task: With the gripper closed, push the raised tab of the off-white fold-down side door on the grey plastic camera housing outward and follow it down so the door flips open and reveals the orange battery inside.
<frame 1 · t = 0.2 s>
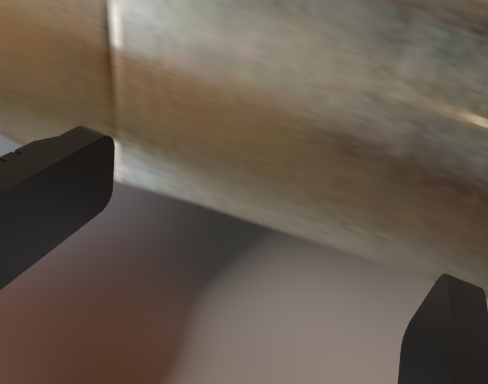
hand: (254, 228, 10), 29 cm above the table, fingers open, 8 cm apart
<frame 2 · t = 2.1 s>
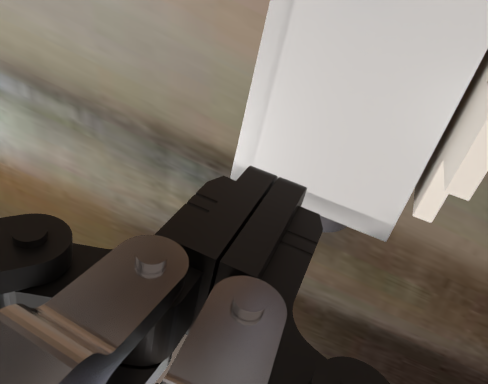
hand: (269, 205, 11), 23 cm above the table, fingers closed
side door: (469, 105, 22), point 7 cm above the table, hinge at 0.0°
camera housing: (374, 46, 29), on the table
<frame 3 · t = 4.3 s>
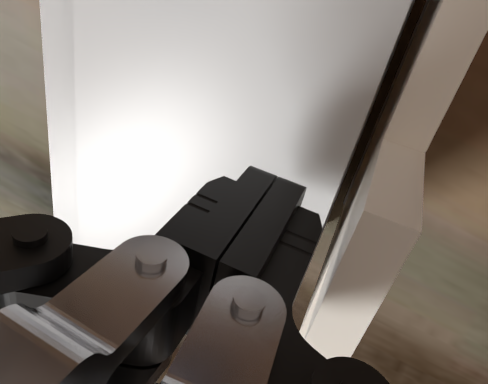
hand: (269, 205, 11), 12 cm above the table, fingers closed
side door: (384, 162, 14), point 7 cm above the table, hinge at 0.4°, touching gripper
camera housing: (279, 60, 21), on the table
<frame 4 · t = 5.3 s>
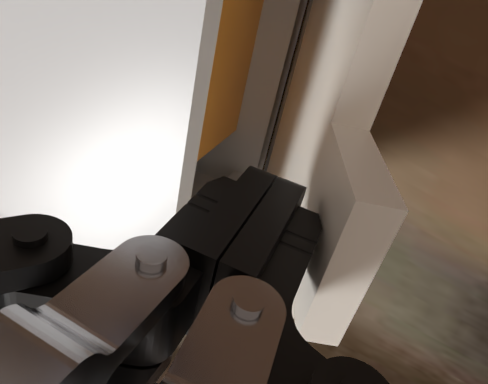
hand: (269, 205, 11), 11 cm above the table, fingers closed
side door: (314, 139, 14), point 7 cm above the table, hinge at 21.1°, touching gripper
camera housing: (199, 39, 22), on the table
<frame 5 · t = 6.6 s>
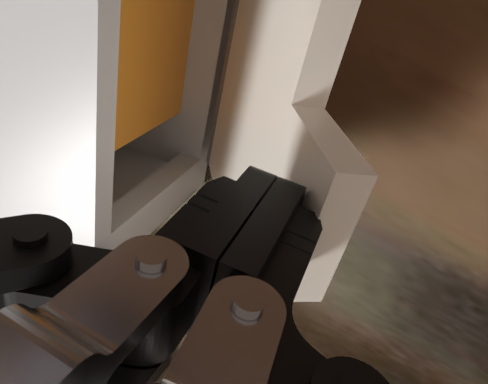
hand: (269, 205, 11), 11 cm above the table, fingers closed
side door: (264, 119, 15), point 6 cm above the table, hinge at 33.7°, touching gripper
camera housing: (143, 24, 22), on the table
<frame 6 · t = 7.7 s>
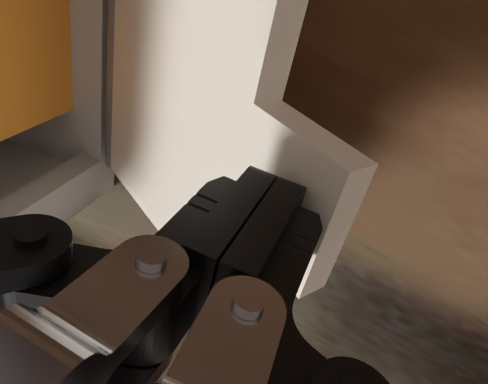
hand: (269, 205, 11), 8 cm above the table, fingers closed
side door: (195, 116, 14), point 4 cm above the table, hinge at 58.1°, touching gripper
camera housing: (29, 11, 20), on the table
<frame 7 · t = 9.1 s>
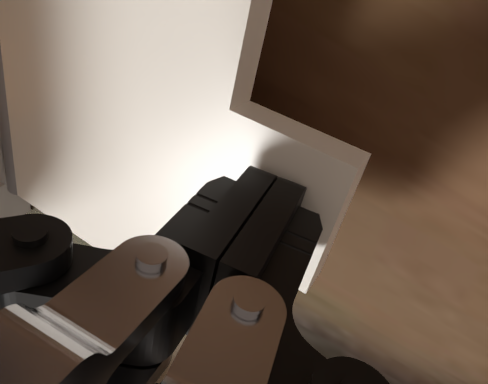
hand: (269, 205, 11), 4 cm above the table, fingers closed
side door: (138, 126, 13), point 2 cm above the table, hinge at 80.5°, touching gripper
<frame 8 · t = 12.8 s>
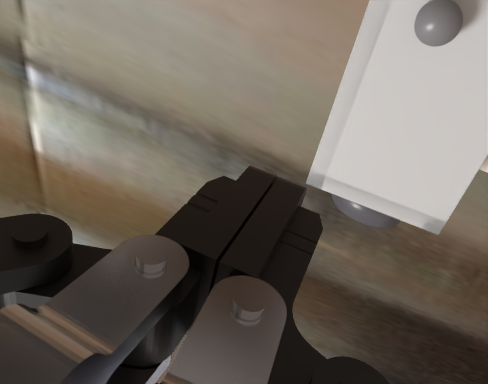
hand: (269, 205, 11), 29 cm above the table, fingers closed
camera housing: (421, 71, 34), on the table
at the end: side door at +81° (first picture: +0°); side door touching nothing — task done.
